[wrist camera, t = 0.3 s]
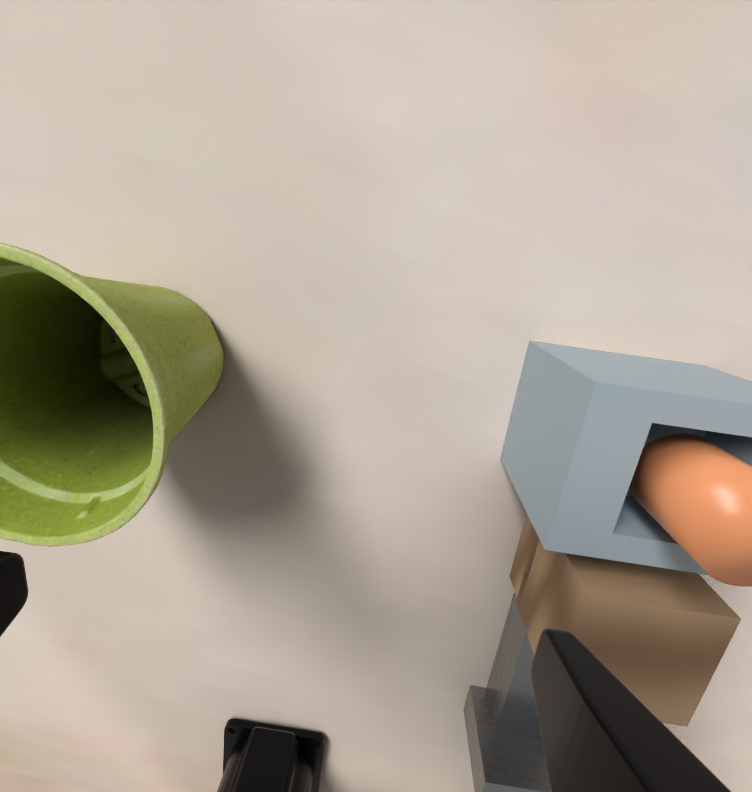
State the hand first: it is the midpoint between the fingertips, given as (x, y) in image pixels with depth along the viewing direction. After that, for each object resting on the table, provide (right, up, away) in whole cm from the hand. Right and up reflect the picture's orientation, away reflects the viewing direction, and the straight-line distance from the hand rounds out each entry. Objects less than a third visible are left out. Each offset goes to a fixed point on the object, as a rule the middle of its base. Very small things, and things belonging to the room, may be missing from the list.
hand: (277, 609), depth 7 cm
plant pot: (-9, +6, +13) cm, 17 cm away
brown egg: (+12, +1, +7) cm, 14 cm away
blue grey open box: (+12, +3, +13) cm, 18 cm away
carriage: (+11, -4, +14) cm, 18 cm away
